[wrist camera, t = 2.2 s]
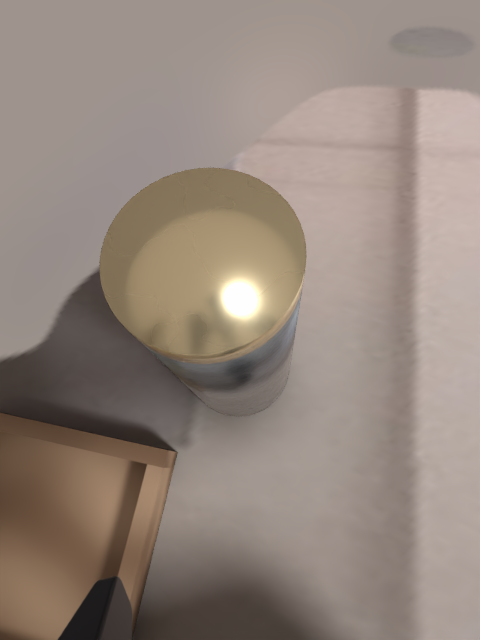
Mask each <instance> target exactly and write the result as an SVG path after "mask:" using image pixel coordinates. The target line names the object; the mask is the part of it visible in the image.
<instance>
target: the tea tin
mask: <svg viewBox="0 0 480 640" xmlns="http://www.w3.org/2000/svg"><path fill="white" fill-rule="evenodd" d="M305 266H306V243H305V238H304V233H303V230H302V227H301V224H300V222H299V220H298V218H297V216H296V214H295V212H294V210H293V209H292V208H291V206H290V205H289V204H288V202H287V201H286V200H285V199H284V198H283V197H282V196H281V195H280V194H279V193H278V192H277V191H276V190H274V189H273V188H272V187H271V186H269V185H268V184H266V183H264V182H263V181H261V180H259V179H257V178H255V177H253V176H250V175H248V174H245V173H242V172H238V171H234V170H229V169H222V168H198V169H191V170H185V171H182V172H178V173H174V174H172V175H169V176H166V177H164V178H161V179H159V180H158V181H156V182H154V183H152V184H150V185H149V186H147V187H145V188H144V189H143V190H141V191H140V192H139V193H137V194H136V195H135V196H134V197H132V198H131V199H130V200H129V201H128V202H127V203H126V204H125V206H124V207H123V208H122V209H121V210H120V212H119V213H118V214H117V216H116V217H115V219H114V220H113V222H112V224H111V225H110V227H109V229H108V232H107V234H106V236H105V239H104V242H103V246H102V250H101V256H100V279H101V286H102V289H103V292H104V296H105V298H106V301H107V303H108V305H109V307H110V309H111V310H112V312H113V313H114V315H115V316H116V318H117V319H118V320H119V321H120V322H121V323H122V324H123V326H124V327H125V328H126V329H127V330H128V331H129V332H130V333H131V334H132V335H134V336H135V337H136V338H137V339H138V340H139V341H140V342H141V343H142V344H143V345H144V346H145V347H146V348H147V349H148V350H149V351H150V352H151V353H152V354H153V355H155V356H156V357H157V358H158V359H159V360H160V361H161V362H162V363H163V364H164V365H165V366H166V367H167V368H168V369H169V370H170V371H171V372H172V373H173V374H174V375H176V376H177V377H178V378H179V379H180V380H181V381H182V382H183V383H184V384H185V385H186V386H187V387H188V388H189V389H190V390H191V391H192V392H193V393H194V394H195V395H197V396H198V397H199V398H200V399H201V400H202V401H203V402H204V403H205V404H206V405H207V406H209V407H210V408H212V409H213V410H215V411H217V412H220V413H222V414H226V415H230V416H246V415H251V414H255V413H257V412H260V411H262V410H264V409H265V408H267V407H268V406H270V405H271V404H272V403H273V402H274V401H275V400H276V399H277V398H278V397H279V395H280V394H281V393H282V391H283V389H284V387H285V385H286V382H287V379H288V375H289V369H290V363H291V356H292V350H293V344H294V337H295V331H296V324H297V318H298V312H299V305H300V299H301V293H302V286H303V280H304V274H305Z"/></svg>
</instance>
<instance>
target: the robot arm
mask: <svg viewBox="0 0 480 640" xmlns="http://www.w3.org/2000/svg"><path fill="white" fill-rule="evenodd" d="M132 621H133V615H132V607H131V603H130V600H129V598H128V595H127V593H126V590H125V588H124V585H123V583H122V581H121V579H120V578H119V577H118V576H112V577H108V578H104V579H100V580H98V581H97V582H96V583H95V584H94V585H93V587H92V588H91V590H90V591H89V593H88V594H87V596H86V597H85V599H84V600H83V602H82V603H81V605H80V606H79V608H78V609H77V611H76V612H75V614H74V615H73V617H72V618H71V620H70V621H69V623H68V624H67V626H66V627H65V629H64V631H63V632H62V634H61V635H60V637H59V638H58V640H132Z"/></svg>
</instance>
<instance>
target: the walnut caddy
mask: <svg viewBox="0 0 480 640" xmlns="http://www.w3.org/2000/svg"><path fill="white" fill-rule="evenodd" d="M176 457H177V452H174V451H170V450H165V449H161V448H156V447H152V446H147V445H143V444H138V443H134V442H129V441H125V440H121V439H116V438H112V437H107V436H103V435H98V434H94V433H89V432H85V431H80V430H76V429H71V428H67V427H62V426H58V425H53V424H49V423H44V422H40V421H35V420H31V419H26V418H22V417H17V416H13V415H9V414H4V413H0V640H58V638H59V637H60V635H61V634H62V632H63V631H64V629H65V627H66V626H67V624H68V623H69V621H70V620H71V618H72V617H73V615H74V614H75V612H76V611H77V609H78V608H79V606H80V605H81V603H82V602H83V600H84V599H85V597H86V596H87V594H88V593H89V591H90V590H91V588H92V587H93V585H94V584H95V583H96V582H97V581H98V580H100V579H104V578H108V577H112V576H118V577H119V578H120V579H121V581H122V583H123V585H124V588H125V590H126V593H127V595H128V598H129V600H130V603H131V607H132V615H133V621H132V636H133V632H134V628H135V624H136V620H137V616H138V612H139V607H140V603H141V599H142V595H143V591H144V587H145V583H146V579H147V575H148V571H149V567H150V563H151V559H152V554H153V550H154V546H155V542H156V538H157V534H158V530H159V526H160V522H161V518H162V514H163V510H164V506H165V501H166V497H167V493H168V489H169V485H170V481H171V477H172V473H173V469H174V465H175V461H176Z"/></svg>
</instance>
